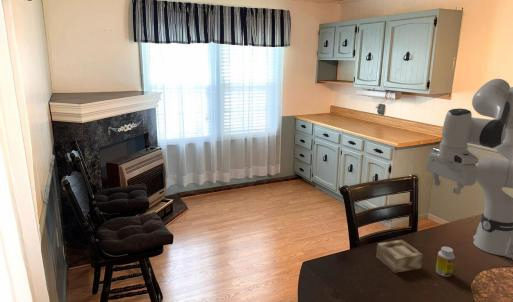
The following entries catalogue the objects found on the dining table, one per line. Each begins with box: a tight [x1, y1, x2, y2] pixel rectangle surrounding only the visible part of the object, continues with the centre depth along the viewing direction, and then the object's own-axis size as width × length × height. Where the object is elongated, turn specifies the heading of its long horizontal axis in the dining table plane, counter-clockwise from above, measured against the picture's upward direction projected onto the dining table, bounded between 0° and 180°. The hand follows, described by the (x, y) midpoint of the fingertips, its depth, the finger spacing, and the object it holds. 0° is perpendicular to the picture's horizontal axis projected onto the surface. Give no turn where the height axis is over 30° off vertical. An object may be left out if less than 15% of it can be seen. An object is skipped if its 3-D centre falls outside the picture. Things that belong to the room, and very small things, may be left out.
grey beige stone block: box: [375, 239, 424, 274], centre depth 141 cm, size 12×12×6 cm
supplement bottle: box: [435, 246, 456, 277], centre depth 133 cm, size 6×6×10 cm
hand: (446, 189), depth 132 cm, fingers open, 8 cm apart
